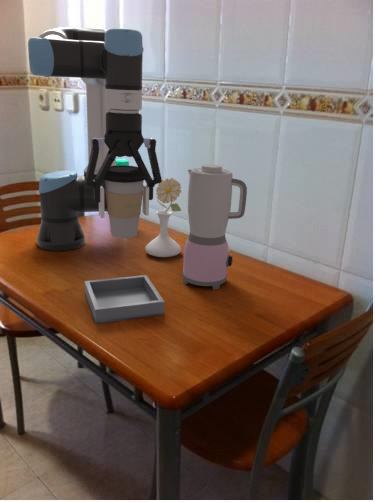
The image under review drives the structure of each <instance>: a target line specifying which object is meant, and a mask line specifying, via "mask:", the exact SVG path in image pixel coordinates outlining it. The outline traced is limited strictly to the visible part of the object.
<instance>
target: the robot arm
mask: <svg viewBox="0 0 375 502" xmlns="http://www.w3.org/2000/svg"><path fill="white" fill-rule="evenodd" d="M27 46H28V47H27V50H28V60H29V61H28V62H29V71H30V73H31V74H32V75H33V76H40V77H44V78H45V77H46V78H52V77H53V78H76V79H77V78H80V79H81V81H82V82H83V83H84V84H85V87H86V88H85V90H86V91H85V93H86V124H87V125H86V127H87V156H88V157H87V159H88V160H87V161H88V163H87V165H86V166H85V168H83V175H78V173H77V171H76V170H67V169H66V170H59V171H56V170H55V171H53V172H52V171H51V172H49V173H46V174H44V175H41V177H40V178H39V184H38V189H39V190H38V193H39V203H40V218H41V222H40V226H39V229H38V233H37V237H36V242H37V243H36V244H37V246H38V247H39V248H40V249H43V250H46V251H54V252H55V251H59V252H60V251H62V252H64V251H70V250H71V251H72V250H75V249H78V248H81V247H83V246H84V245H85V242H86V236H85V234H84V230H83V227H82V225H81V222H80V220H79V213H94V212H95V213H96V212H98V215H99V218H101V219H104V218H105V215H106V214H105V213H108V209H107V200H106V192H105V190H106V186H105V180H104V179H105V176H106V175H107V172H108V170H109V169H110V167H111V166H116V160H117V158H123V157H128V158H132V159H134V162H135V164H136V167H139V168H140V169H142V172H143V174H144V175H145V178H146V179H145V180H144V181H145V184H143V196H142V205H141V211H142V214H143V215H144V216H147V217H148V216H149V215H150V213H149V212H150V201H152V200H153V199H154V188H155V186H156V185H158V184H159V183H161V182H162V180H163V179H162V175H161V174H162V173H161V171H160V165H159V161H158V157H157V152H156V146H157V139H155V138H153V137H144V136H143V134H142V133H143V131H142V130H143V129H142V128H143V126H142V125H143V115H142V113H141V112H140V111H141V110H142V109H143V60H144V59H143V57H144V56H143V54H144V47H143V34H142V32H141V31H139V30H137V29H134V28H133V29H132V28H121V27H120V28H119V27H116V28H115V27H114V28H111V27H110V28H107V29H100V28H98V29H97V28H83V27H82V28H81V27H70V26H69V27H68V26H65V27H64V26H63V27H56V28H53V29H48V30H45V31H44V32H42V33H40V34H39V36H38V37H30V38H29V39H28V42H27ZM143 144H144V147H145V148H146V150H147V151H146V152H147V155H148V159H149V163H150V169H151V174H152V176H151V175H150V172H149V171H148V169H147V166H146V164H145V162H144V160H143V158H142V155H141V153H140V151H139V150H140V148H141V147H142V145H143Z"/></svg>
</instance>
